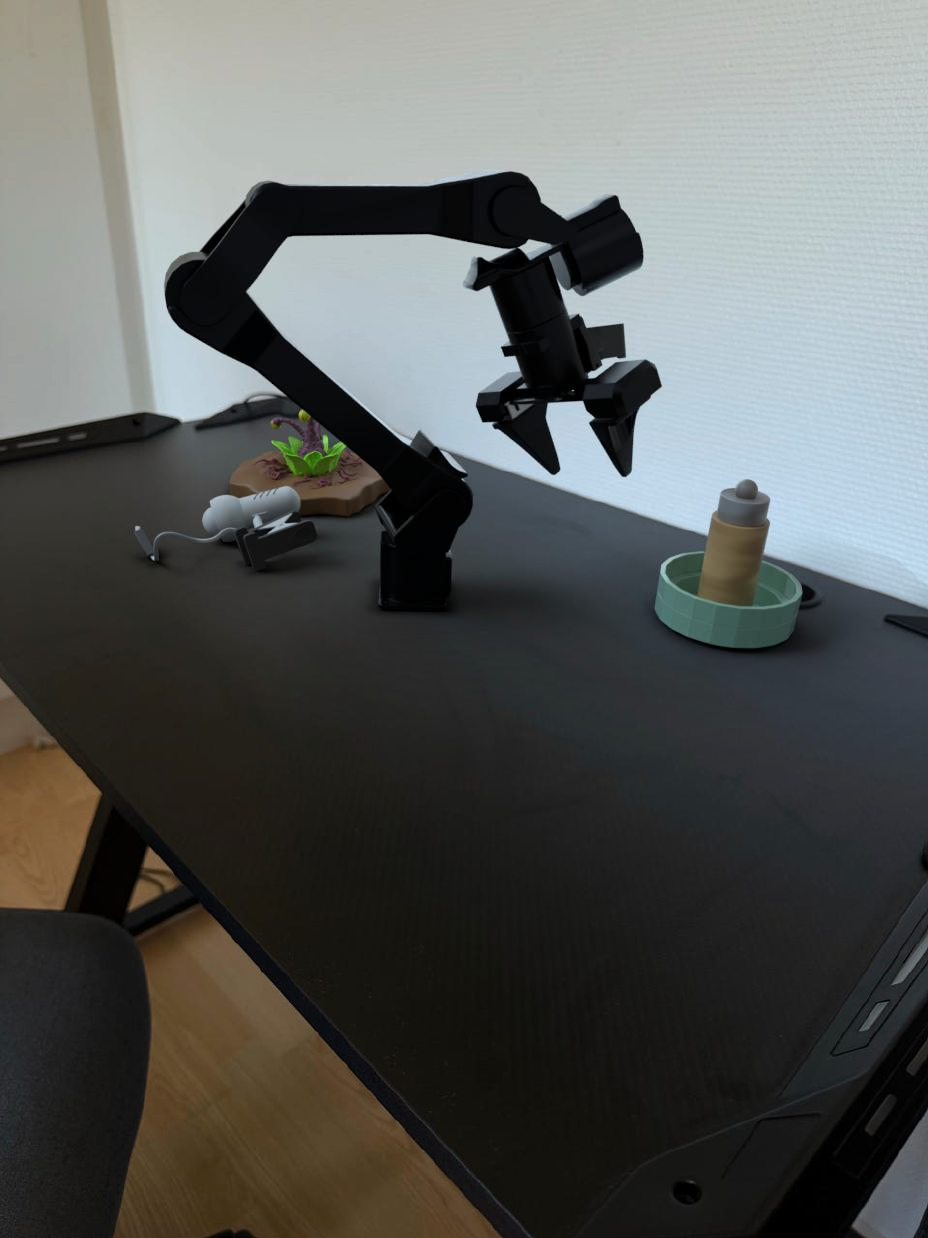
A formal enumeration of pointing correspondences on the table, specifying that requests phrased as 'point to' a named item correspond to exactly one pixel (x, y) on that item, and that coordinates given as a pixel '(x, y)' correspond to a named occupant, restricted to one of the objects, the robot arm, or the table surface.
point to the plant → (311, 473)
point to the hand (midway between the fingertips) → (590, 473)
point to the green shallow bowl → (727, 606)
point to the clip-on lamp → (249, 526)
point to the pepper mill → (735, 546)
